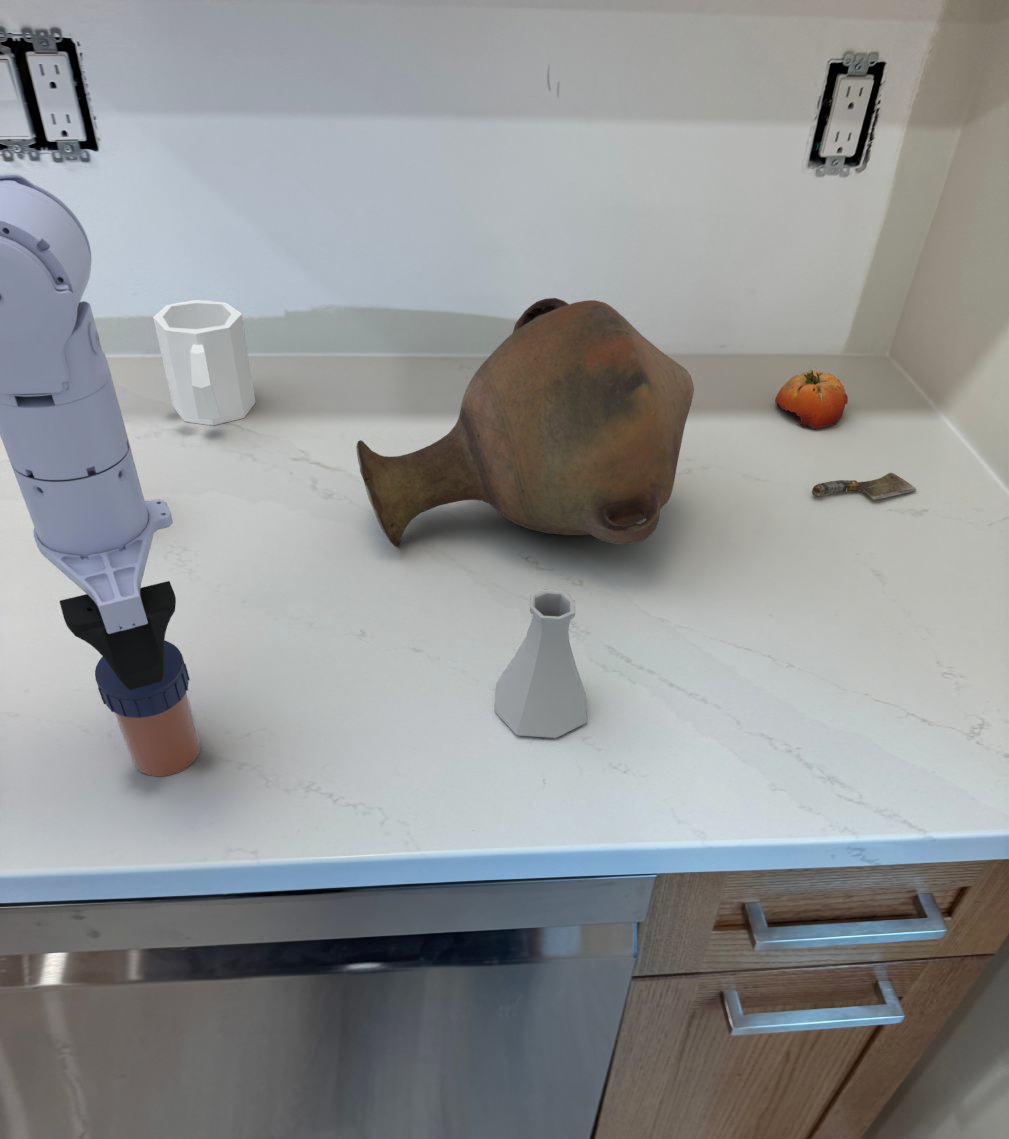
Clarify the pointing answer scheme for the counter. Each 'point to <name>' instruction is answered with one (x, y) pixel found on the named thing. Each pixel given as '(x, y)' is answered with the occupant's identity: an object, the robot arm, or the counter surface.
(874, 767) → the counter surface
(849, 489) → the meat cleaver
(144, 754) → the jar
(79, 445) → the robot arm
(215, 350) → the mug
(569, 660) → the flask
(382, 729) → the counter surface
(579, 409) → the jug
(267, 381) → the counter surface
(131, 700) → the lid
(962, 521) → the counter surface
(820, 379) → the tomato
